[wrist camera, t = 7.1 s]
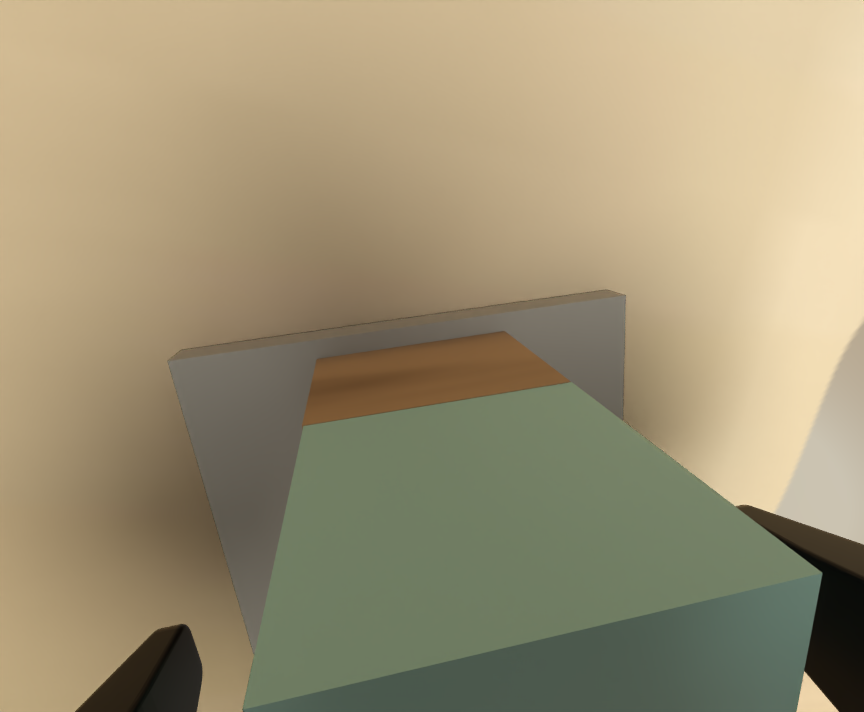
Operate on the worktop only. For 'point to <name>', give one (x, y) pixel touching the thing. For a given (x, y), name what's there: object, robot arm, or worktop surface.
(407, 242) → the worktop surface
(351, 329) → the board
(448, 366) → the walnut base
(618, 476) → the teal block
